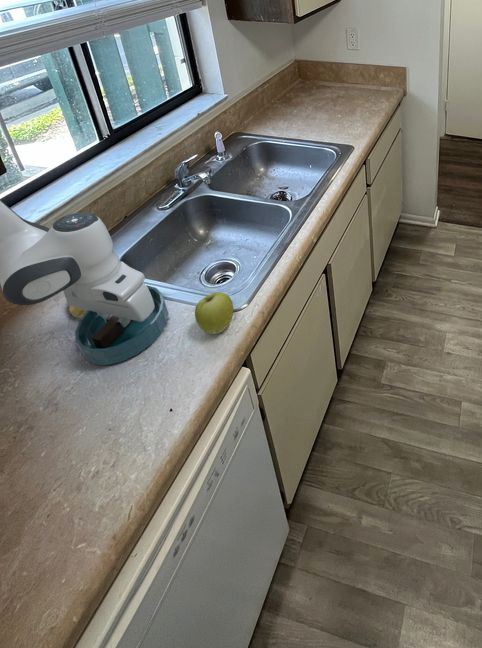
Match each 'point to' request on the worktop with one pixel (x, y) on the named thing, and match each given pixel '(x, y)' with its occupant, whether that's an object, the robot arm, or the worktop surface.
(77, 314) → the bread roll
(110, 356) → the bowl
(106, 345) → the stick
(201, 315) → the apple
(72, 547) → the worktop surface
